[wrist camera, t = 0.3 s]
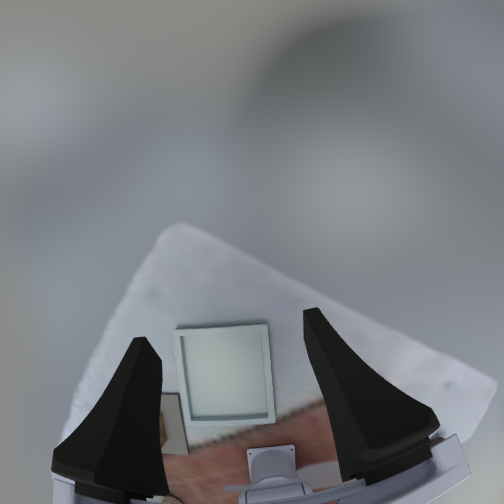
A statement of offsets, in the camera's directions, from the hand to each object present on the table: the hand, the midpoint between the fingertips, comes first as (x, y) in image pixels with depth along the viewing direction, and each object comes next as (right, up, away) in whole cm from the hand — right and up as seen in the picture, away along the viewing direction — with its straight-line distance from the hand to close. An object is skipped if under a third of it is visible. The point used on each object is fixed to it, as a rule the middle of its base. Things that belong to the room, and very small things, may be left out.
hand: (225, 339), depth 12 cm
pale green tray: (-3, -15, +28) cm, 32 cm away
